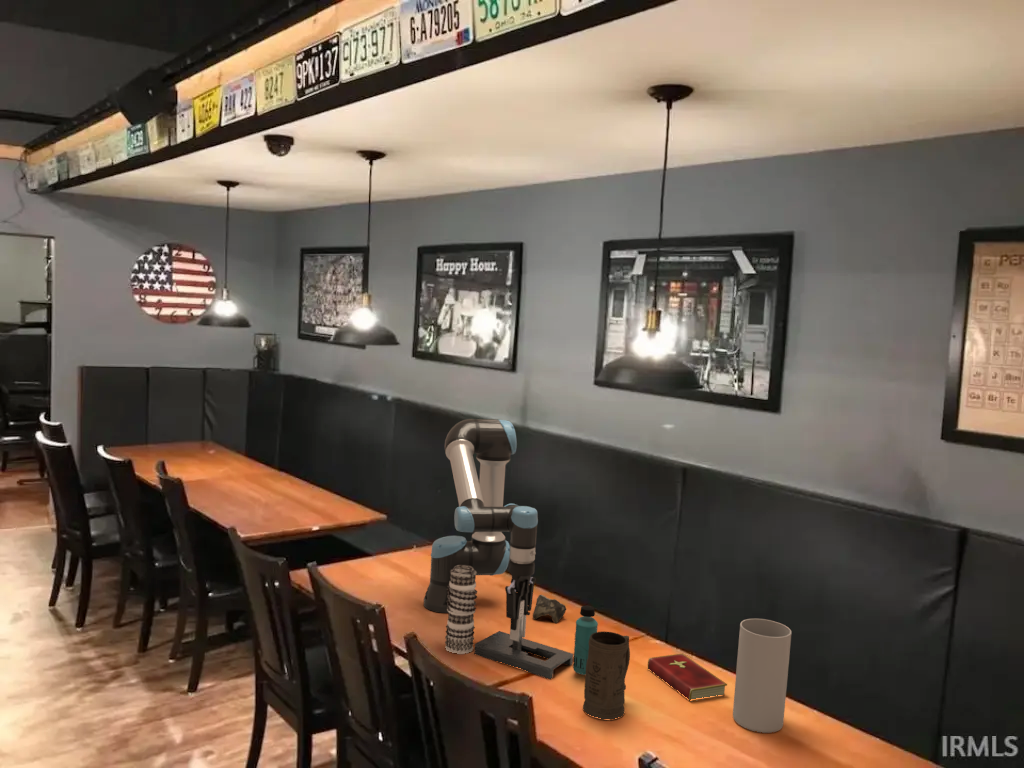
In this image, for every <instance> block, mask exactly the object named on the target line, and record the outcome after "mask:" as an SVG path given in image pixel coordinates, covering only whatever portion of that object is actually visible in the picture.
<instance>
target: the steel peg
mask: <svg viewBox="0 0 1024 768" xmlns="http://www.w3.org/2000/svg"><path fill="white" fill-rule="evenodd" d="M523 617H524V599H521V603H520V610H519V619H520V630H519V641H515V640H513V643H512V647H511V648H513V649H516V650H520V651H523V652H525V651H524V650H522V638H523V637H522V634H523Z"/></svg>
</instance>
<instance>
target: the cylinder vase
mask: <svg viewBox="0 0 1024 768" xmlns="http://www.w3.org/2000/svg"><path fill="white" fill-rule="evenodd" d="M738 634H739V637H738V649H737V659H736V670H735V671H736V672H735V681H734V682H735V683H734V684H735V685H734V695H733V707H732V718H733V720H734V721H735V722H736V723H737V724H738V725H739V726H741V727H742V728H744V729H746V728H747V730H749V731H753V732H755V731H757V732H756V733H761V732H762V734H763V733H764V734H771V733H772V732H773V733H776V732H778V731H780V730H782V728H783V727H784V721H785V708H786V698H787V687H788V677H789V675H788V674H789V665H790V655H791V653H790V651H791V643H792V630H791V629H790V628H789V627H788V626H786V624H783V623H780V622H779V621H778V622H777V621H774V620H771V619H765V618H747V619H743V620H742V621H741V622H740V624H739V633H738Z"/></svg>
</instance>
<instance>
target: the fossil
mask: <svg viewBox="0 0 1024 768" xmlns="http://www.w3.org/2000/svg"><path fill="white" fill-rule="evenodd" d="M566 611H567V608H566V605H565V604H563V603H561V602H560V601H559V600H557V599H556V598H553V599H552V598H549V597H547V596H546V595H543V594H539V595H538V596H537V598H536V601H535V606H534V609H533V613H532V618H533V620H537V619H539V618H540V617H543V616H544V617H545V616H550V617H551V620H552V622H553V623H554V624H557V623H559V622H560V620H561V619H562V618H563V617H564V615H565V614H566Z"/></svg>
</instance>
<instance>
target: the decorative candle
mask: <svg viewBox="0 0 1024 768" xmlns="http://www.w3.org/2000/svg"><path fill="white" fill-rule="evenodd" d="M450 573H451V576H450V583H449V584H448V585H447V587H448V589H447V591H448V596H447V598H448V600H447V605H448V607H447V611H448V612H449V613H447V614H448V616H447V622H446V626H445V628H446V631H445V634H446V635H445V636H444V637H445V638H444V639H445V641H444V643H445V646H444V649H445V648H446V649H445V650H446V651H447V652H448V651H449V652H448V653H450V652H452V653H451V654H453V653H457V654H456V655H466V654H470V653H471V652H473V650H474V647H473V646H475V643H474V640H475V637H474V634H475V631H474V630H475V628H476V627H475V623H474V622H475V621H474V614H475V612H476V609H477V606H476V605H477V602H476V601H475V600H477V598H478V595H477V594H478V593H479V591H478V590H477V589H476V587H477V582H476V579H477V578H476V576H477V575H476V574H477V572H476V571H475V570H474V569H473V567H471V566H469V565H457V566H455V567H454V568H453V569H452V570H451V571H450ZM449 590H450V591H449ZM449 597H450V598H449ZM449 601H450V602H449ZM469 652H470V653H469ZM465 653H466V654H465Z"/></svg>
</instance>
